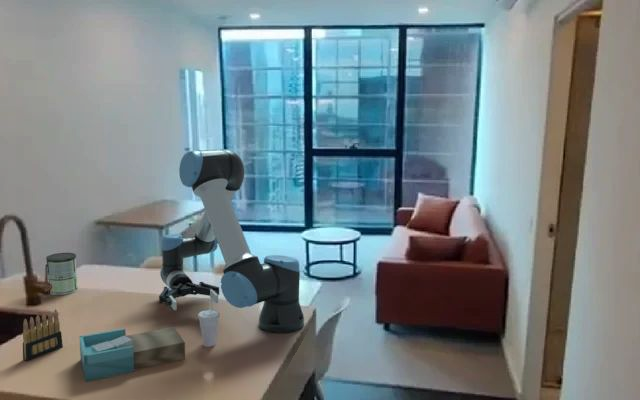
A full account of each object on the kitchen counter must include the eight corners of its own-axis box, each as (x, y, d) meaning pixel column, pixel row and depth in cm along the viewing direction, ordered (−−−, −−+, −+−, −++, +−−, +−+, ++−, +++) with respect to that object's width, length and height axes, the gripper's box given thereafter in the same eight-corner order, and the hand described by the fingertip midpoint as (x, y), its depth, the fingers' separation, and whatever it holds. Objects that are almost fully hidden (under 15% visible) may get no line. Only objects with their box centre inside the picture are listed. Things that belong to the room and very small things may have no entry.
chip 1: (108, 349, 138) (107, 341, 138) (115, 354, 135) (115, 346, 135) (91, 354, 135) (91, 346, 135) (99, 360, 132) (98, 351, 132)
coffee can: (43, 291, 196) (41, 256, 194) (69, 284, 204) (67, 251, 202) (56, 297, 190) (54, 261, 188) (83, 290, 198) (81, 255, 196)
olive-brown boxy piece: (174, 342, 154) (174, 326, 153) (185, 358, 143) (184, 342, 143) (126, 352, 147) (125, 335, 146) (133, 369, 137) (132, 352, 136)
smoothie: (217, 348, 150) (216, 304, 148) (196, 348, 150) (195, 303, 148) (222, 339, 156) (221, 296, 154) (201, 339, 156) (200, 296, 154)
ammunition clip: (26, 361, 140) (23, 320, 138) (22, 359, 141) (19, 319, 139) (63, 347, 149) (60, 308, 147) (59, 345, 150) (56, 307, 148)
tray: (125, 350, 147) (124, 328, 146) (134, 371, 136) (133, 346, 135) (80, 359, 142) (79, 336, 140) (85, 381, 130) (83, 356, 129)
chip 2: (125, 343, 141) (124, 335, 141) (133, 348, 138) (132, 339, 138) (110, 350, 138) (108, 341, 138) (117, 354, 135) (116, 346, 134)
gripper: (213, 288, 187) (233, 307, 169) (143, 299, 175) (157, 320, 157) (213, 269, 186) (233, 285, 168) (143, 278, 174) (156, 297, 156)
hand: (196, 302), depth 162 cm, fingers open, 13 cm apart
